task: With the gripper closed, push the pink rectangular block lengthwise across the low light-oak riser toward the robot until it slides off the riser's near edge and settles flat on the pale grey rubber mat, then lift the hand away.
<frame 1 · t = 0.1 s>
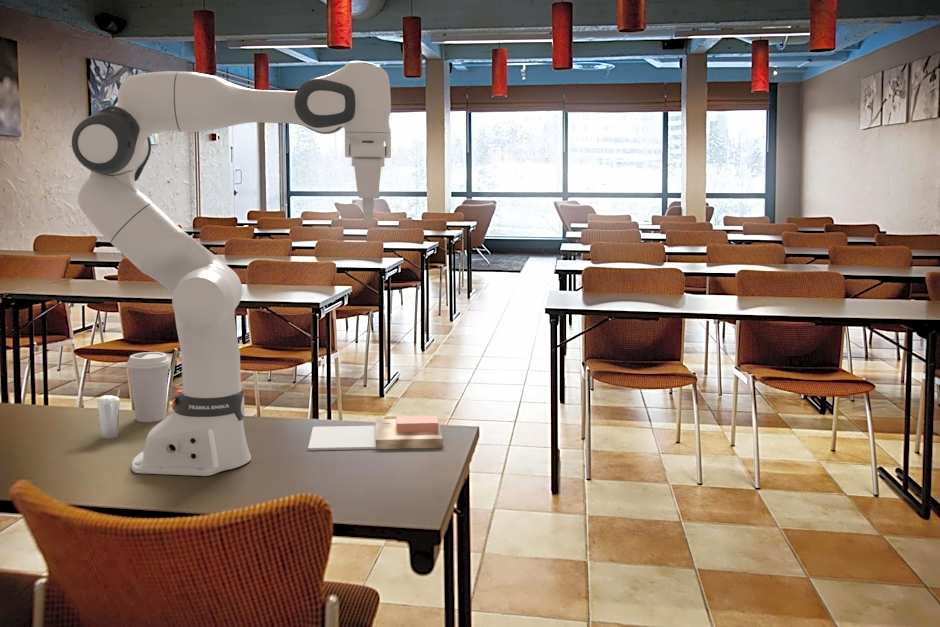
hand: (368, 220, 177), 48 cm above the table, fingers open, 8 cm apart
coffee cup: (150, 419, 212), on the table
pink rectangular block: (416, 428, 199), point 2 cm above the table, touching riser
milkshake: (111, 437, 197), on the table
mat: (343, 438, 198), on the table
riser: (407, 437, 199), on the table
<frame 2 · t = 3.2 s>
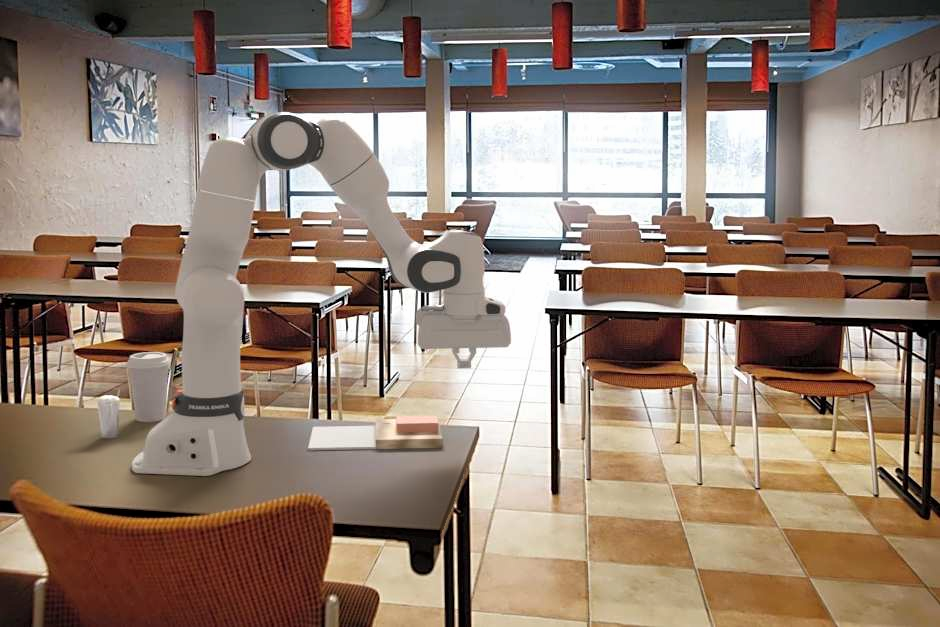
hand: (464, 367, 198), 15 cm above the table, fingers closed
nothing on the table moved.
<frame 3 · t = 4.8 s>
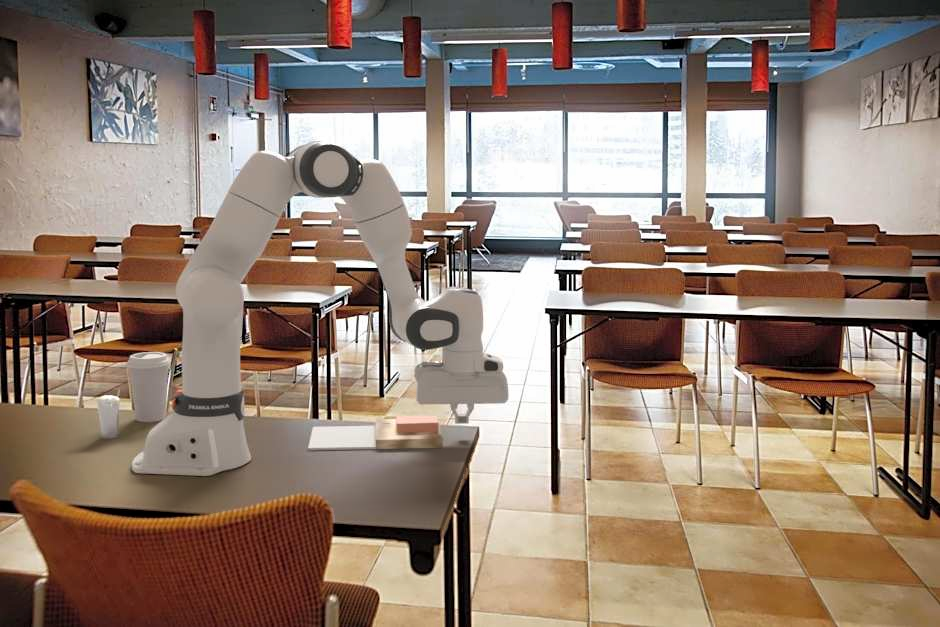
hand: (461, 423, 200), 3 cm above the table, fingers closed
nothing on the table moved.
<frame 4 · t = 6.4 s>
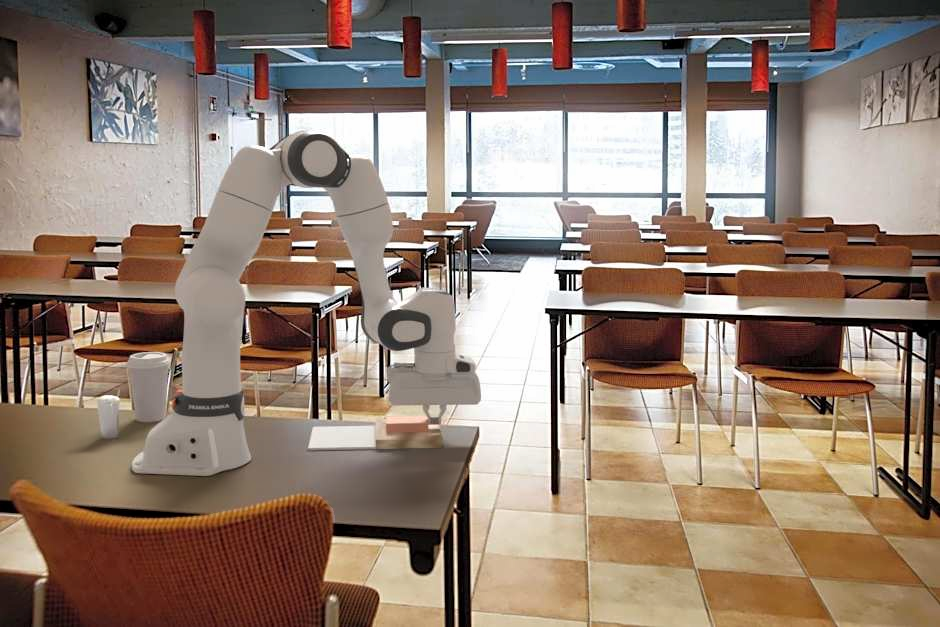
hand: (434, 424, 199), 3 cm above the table, fingers closed
pink rectangular block: (406, 428, 199), point 2 cm above the table, touching gripper, riser
everything else where it was.
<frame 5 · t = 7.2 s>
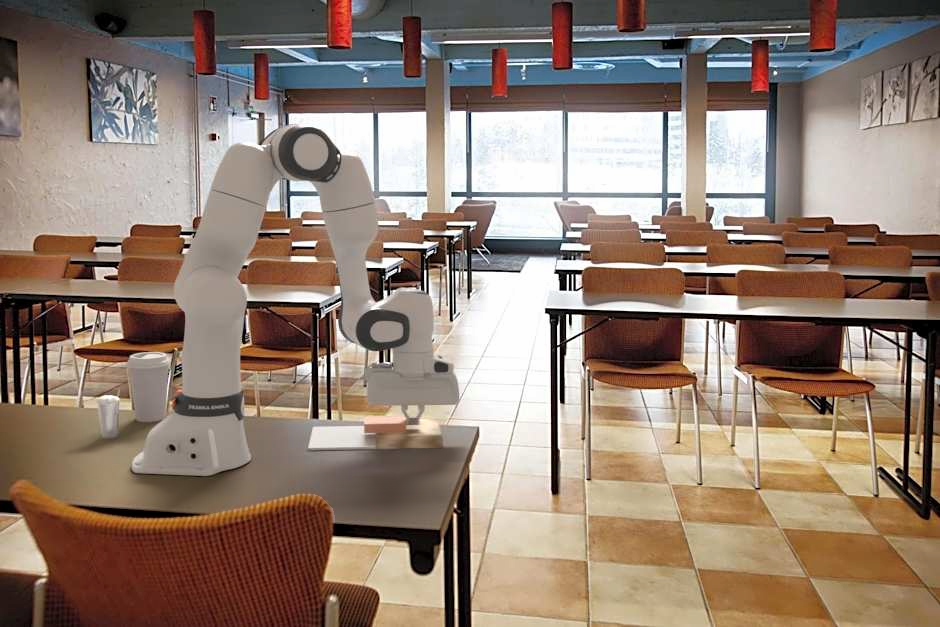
hand: (412, 424, 199), 3 cm above the table, fingers closed
pink rectangular block: (385, 429, 198), point 2 cm above the table, touching gripper, riser
everything else where it was.
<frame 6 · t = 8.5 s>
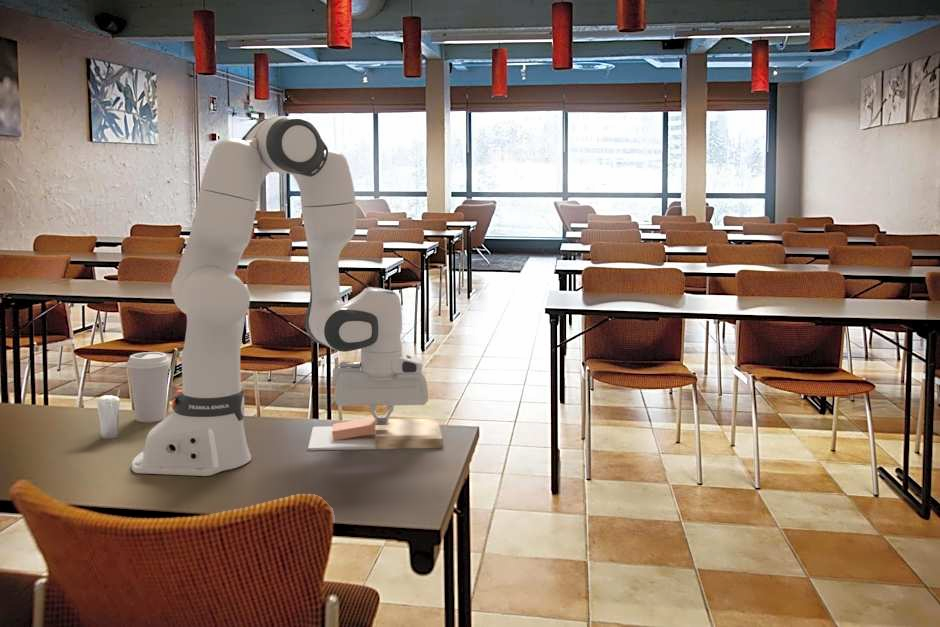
hand: (381, 424, 198), 3 cm above the table, fingers closed
pink rectangular block: (354, 432, 198), point 1 cm above the table, tilted 9°
everything else where it was.
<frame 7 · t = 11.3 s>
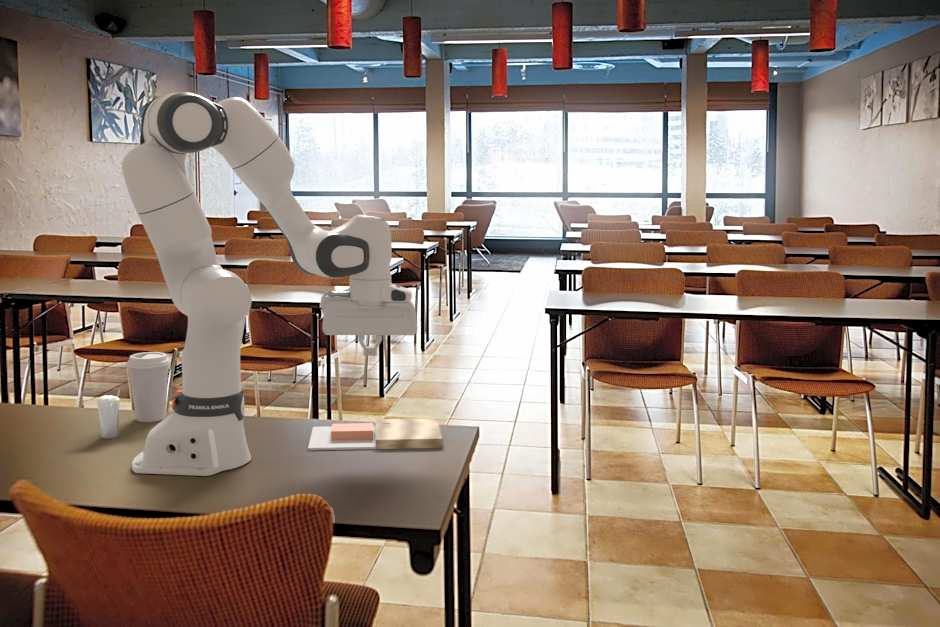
hand: (370, 355, 195), 18 cm above the table, fingers closed
pink rectangular block: (352, 436, 198), resting on mat
everything else where it was.
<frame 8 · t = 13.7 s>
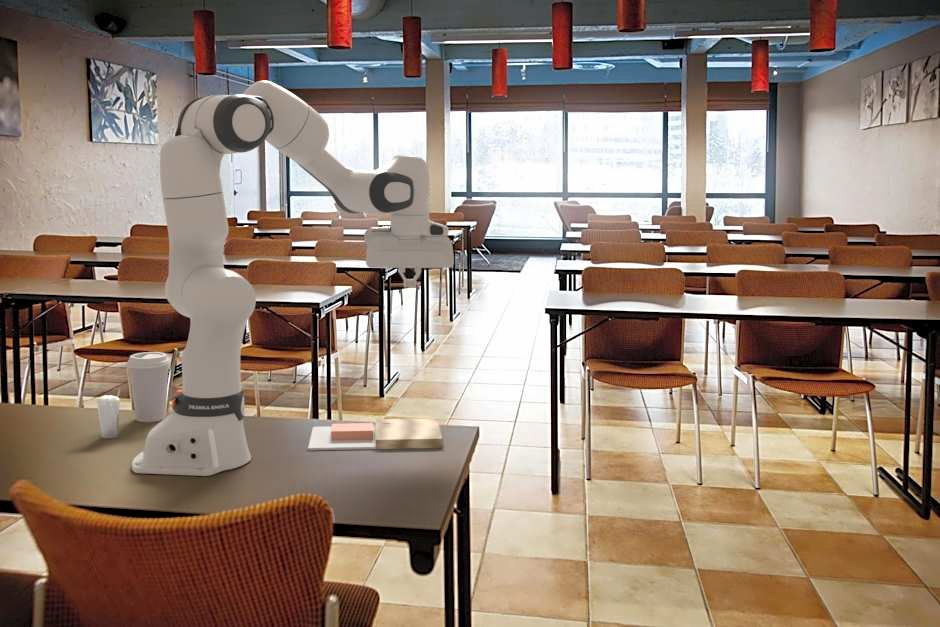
hand: (409, 287, 210), 31 cm above the table, fingers closed
nothing on the table moved.
at the end: pink rectangular block inside the target area on the mat (2.0 cm from its centre), point 0.5 cm above the mat's base; pink rectangular block tilted 0°; pink rectangular block touching mat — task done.
